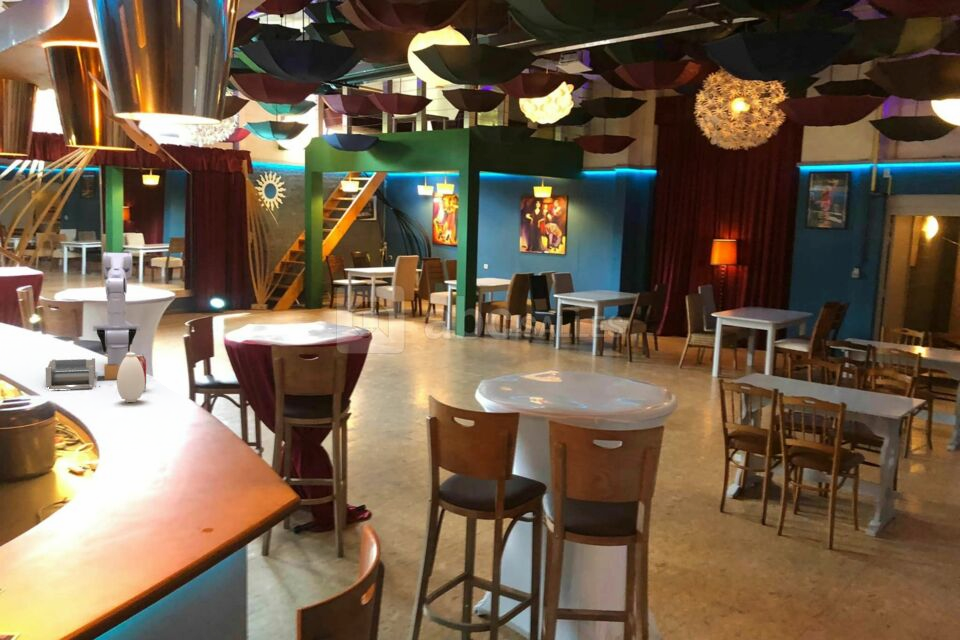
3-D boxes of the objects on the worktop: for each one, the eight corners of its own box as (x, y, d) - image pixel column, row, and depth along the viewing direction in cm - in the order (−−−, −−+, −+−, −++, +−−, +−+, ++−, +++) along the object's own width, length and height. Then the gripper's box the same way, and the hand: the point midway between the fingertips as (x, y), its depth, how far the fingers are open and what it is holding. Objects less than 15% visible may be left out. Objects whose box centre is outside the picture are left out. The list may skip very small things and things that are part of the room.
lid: (50, 363, 265) (50, 355, 265) (94, 361, 271) (94, 354, 271) (46, 371, 252) (46, 363, 252) (93, 369, 258) (93, 361, 257)
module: (104, 376, 271) (104, 363, 271) (118, 376, 273) (118, 362, 272) (104, 379, 267) (104, 365, 267) (118, 378, 269) (118, 365, 268)
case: (51, 375, 273) (51, 355, 272) (96, 373, 279) (95, 354, 278) (46, 389, 252) (45, 367, 251) (94, 387, 258) (94, 366, 257)
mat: (97, 377, 272) (97, 375, 272) (125, 376, 276) (125, 374, 276) (96, 382, 264) (96, 381, 264) (125, 381, 268) (125, 379, 268)
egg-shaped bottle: (142, 405, 237) (141, 346, 234) (114, 405, 235) (113, 346, 233) (147, 399, 244) (146, 342, 242) (120, 399, 243) (119, 342, 240)
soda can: (150, 389, 258) (150, 353, 256) (139, 393, 251) (138, 357, 249) (130, 388, 259) (129, 352, 257) (118, 392, 252) (117, 356, 250)
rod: (48, 391, 249) (48, 386, 249) (49, 390, 250) (48, 385, 250) (93, 389, 254) (93, 384, 254) (93, 388, 256) (93, 383, 256)
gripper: (92, 313, 262) (93, 353, 263) (139, 313, 268) (139, 352, 269) (93, 311, 268) (94, 350, 270) (139, 311, 274) (139, 349, 276)
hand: (117, 351), depth 270 cm, fingers open, 7 cm apart
